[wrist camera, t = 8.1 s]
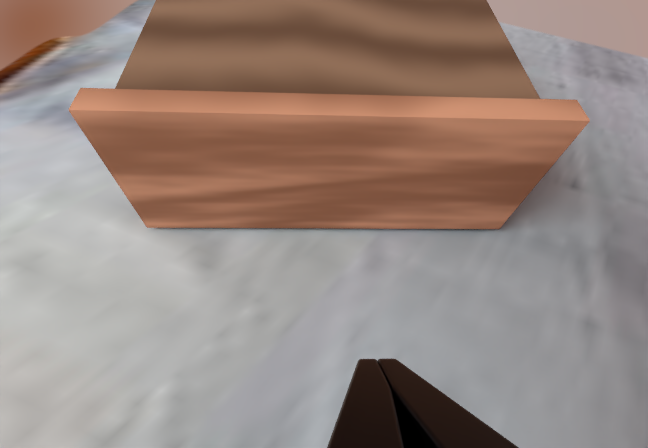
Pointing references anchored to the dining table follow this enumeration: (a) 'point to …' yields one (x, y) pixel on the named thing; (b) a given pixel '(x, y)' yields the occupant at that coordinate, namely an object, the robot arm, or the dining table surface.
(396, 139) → the drawer
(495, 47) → the cabinet
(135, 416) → the dining table surface
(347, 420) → the robot arm
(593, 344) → the dining table surface
